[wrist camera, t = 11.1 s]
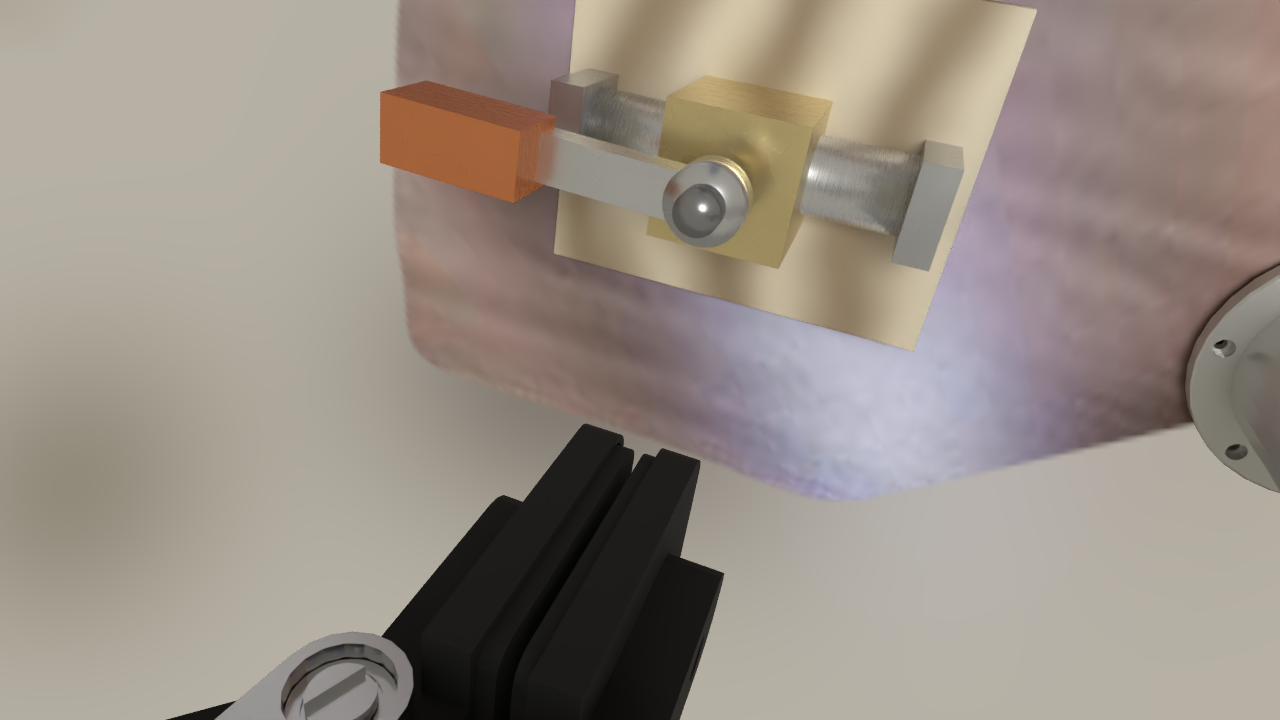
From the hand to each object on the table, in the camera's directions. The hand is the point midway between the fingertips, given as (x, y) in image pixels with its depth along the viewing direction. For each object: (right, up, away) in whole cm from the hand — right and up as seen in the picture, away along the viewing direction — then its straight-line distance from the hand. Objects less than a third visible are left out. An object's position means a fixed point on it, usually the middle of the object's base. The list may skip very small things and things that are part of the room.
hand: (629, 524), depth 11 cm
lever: (-2, +11, +21) cm, 24 cm away
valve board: (+6, +13, +28) cm, 31 cm away
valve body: (+6, +12, +27) cm, 30 cm away
